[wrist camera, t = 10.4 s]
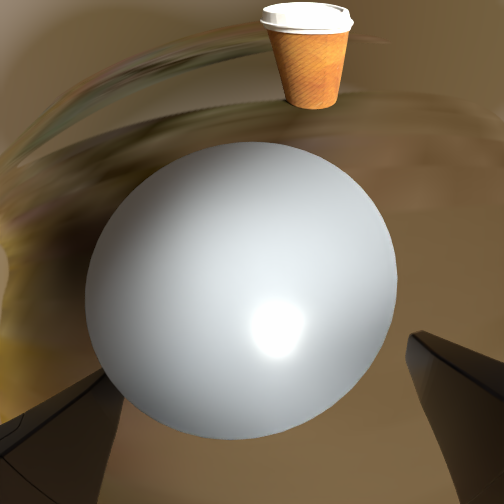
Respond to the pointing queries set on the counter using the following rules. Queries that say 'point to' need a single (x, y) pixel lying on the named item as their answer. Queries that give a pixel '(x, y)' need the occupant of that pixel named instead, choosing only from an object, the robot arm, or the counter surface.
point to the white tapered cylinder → (241, 290)
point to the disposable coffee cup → (308, 50)
